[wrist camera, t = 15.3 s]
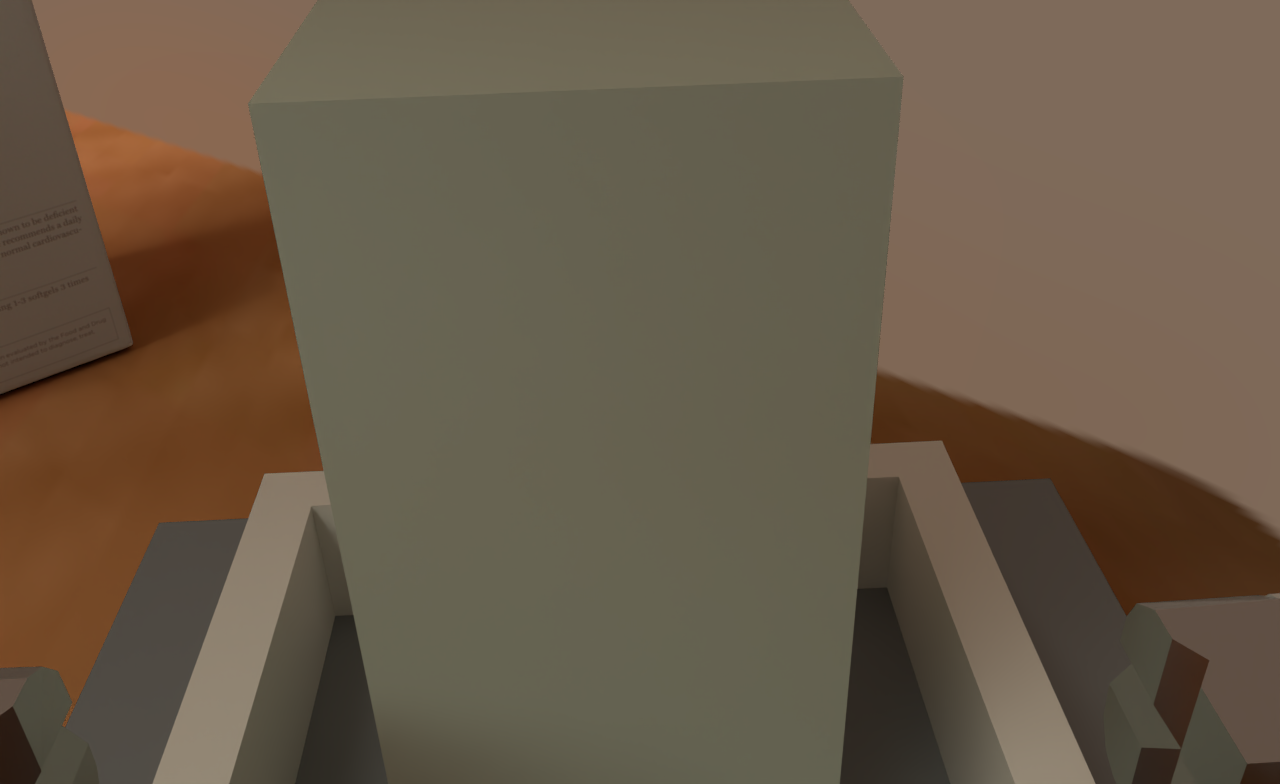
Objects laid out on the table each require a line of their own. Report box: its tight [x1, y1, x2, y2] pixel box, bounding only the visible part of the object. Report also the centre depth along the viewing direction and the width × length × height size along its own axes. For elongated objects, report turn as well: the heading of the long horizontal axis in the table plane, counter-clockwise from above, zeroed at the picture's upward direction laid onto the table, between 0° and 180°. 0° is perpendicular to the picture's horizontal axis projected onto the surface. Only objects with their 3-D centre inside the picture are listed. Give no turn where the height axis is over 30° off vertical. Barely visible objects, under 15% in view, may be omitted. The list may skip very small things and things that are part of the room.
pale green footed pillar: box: [248, 0, 903, 784], centre depth 15 cm, size 5×6×12 cm
